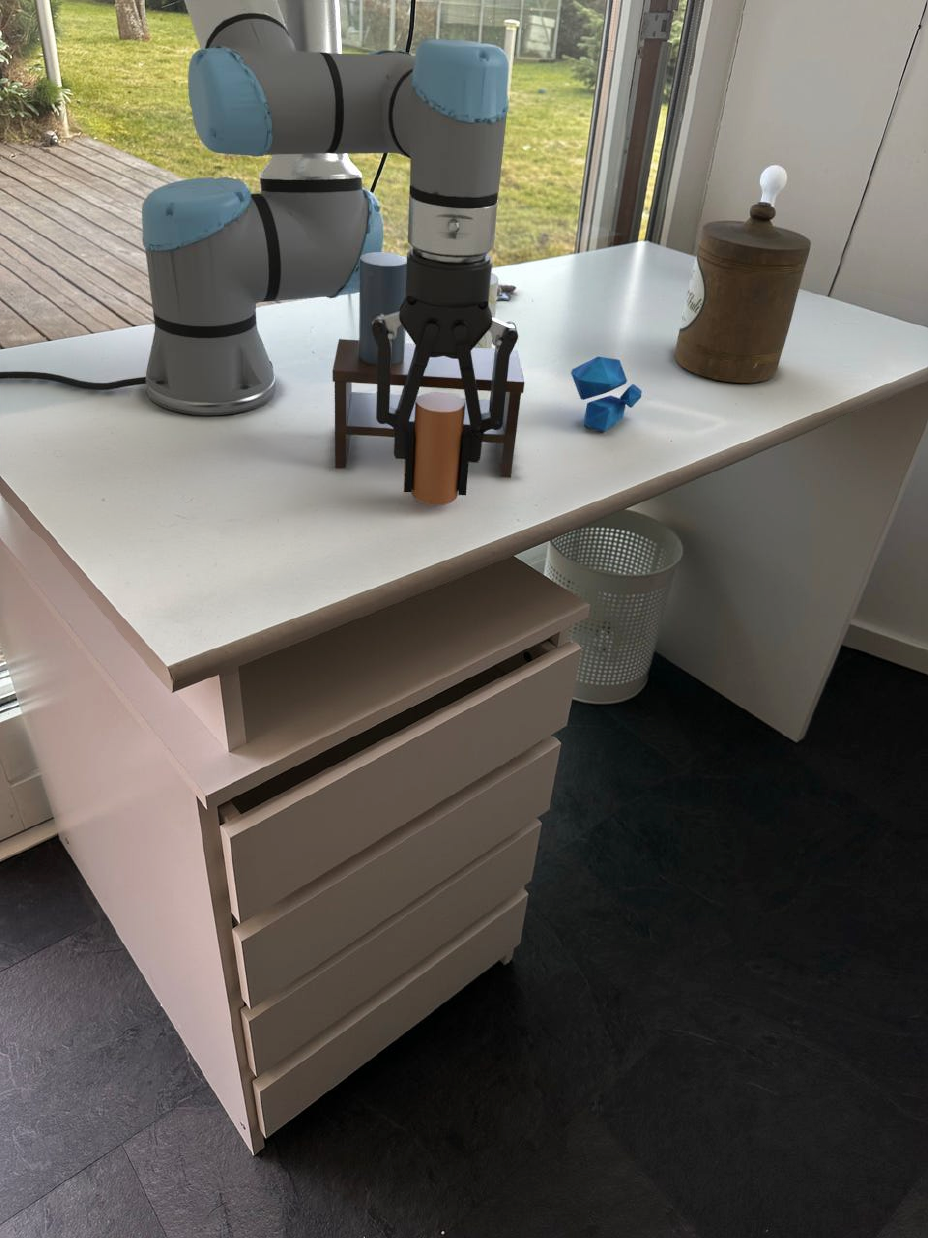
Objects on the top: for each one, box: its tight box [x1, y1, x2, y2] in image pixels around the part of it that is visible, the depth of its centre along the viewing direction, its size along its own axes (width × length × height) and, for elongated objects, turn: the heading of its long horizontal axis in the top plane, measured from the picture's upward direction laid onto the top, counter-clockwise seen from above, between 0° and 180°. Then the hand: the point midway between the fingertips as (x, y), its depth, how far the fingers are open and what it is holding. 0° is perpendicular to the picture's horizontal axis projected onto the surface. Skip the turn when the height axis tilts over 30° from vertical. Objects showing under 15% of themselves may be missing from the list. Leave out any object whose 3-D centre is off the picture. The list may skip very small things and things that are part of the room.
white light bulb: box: [759, 164, 788, 208], centre depth 161 cm, size 11×8×20 cm
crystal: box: [570, 356, 642, 433], centre depth 112 cm, size 7×9×12 cm
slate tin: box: [358, 251, 407, 365], centre depth 94 cm, size 5×5×10 cm
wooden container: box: [673, 201, 812, 384], centre depth 128 cm, size 15×15×22 cm
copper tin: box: [410, 391, 465, 506], centre depth 91 cm, size 5×5×10 cm
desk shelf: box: [332, 338, 525, 478], centre depth 100 cm, size 20×9×11 cm, turn 92°
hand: (434, 487), depth 94 cm, fingers closed on copper tin, 5 cm apart
